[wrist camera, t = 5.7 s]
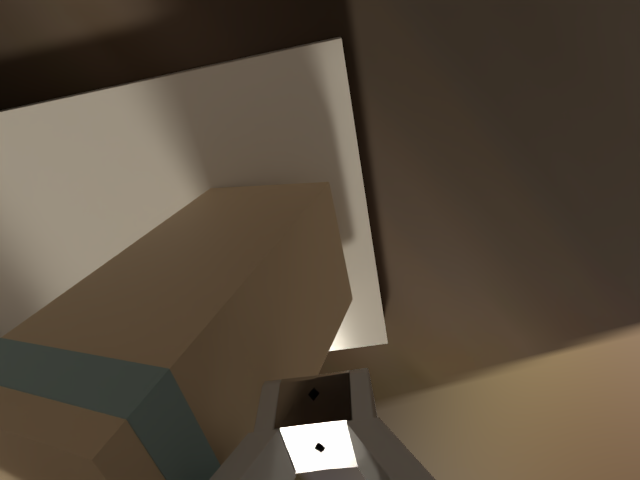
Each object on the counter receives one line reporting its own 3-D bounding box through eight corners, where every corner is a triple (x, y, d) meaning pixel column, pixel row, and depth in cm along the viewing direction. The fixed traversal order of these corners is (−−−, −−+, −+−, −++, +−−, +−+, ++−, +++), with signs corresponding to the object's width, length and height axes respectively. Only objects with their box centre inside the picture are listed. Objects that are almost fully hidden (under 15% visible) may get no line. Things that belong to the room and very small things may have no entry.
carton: (209, 187, 19) (-89, 398, 9) (330, 180, 16) (92, 458, 7) (246, 292, 21) (48, 534, 12) (354, 299, 19) (210, 613, 10)
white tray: (-203, 154, 20) (-253, 167, 19) (340, 36, 17) (341, 38, 16) (-19, 375, 28) (-42, 399, 26) (383, 320, 25) (387, 343, 23)
